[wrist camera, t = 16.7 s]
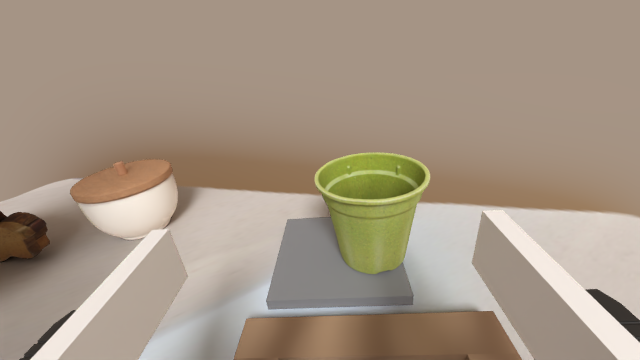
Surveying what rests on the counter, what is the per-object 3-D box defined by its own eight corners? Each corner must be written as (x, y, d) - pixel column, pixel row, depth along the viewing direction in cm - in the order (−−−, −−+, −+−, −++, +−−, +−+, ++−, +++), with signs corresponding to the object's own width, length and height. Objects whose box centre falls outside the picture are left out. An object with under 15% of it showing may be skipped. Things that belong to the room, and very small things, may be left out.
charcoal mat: (268, 309, 23) (266, 301, 23) (288, 226, 34) (287, 219, 34) (412, 304, 22) (413, 295, 22) (387, 220, 33) (387, 213, 33)
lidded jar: (165, 199, 44) (143, 144, 40) (203, 216, 39) (182, 153, 34) (86, 236, 37) (50, 172, 33) (119, 264, 31) (79, 190, 27)
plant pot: (406, 308, 21) (411, 212, 17) (305, 268, 26) (292, 186, 22) (433, 238, 28) (441, 158, 24) (350, 217, 33) (345, 148, 29)
